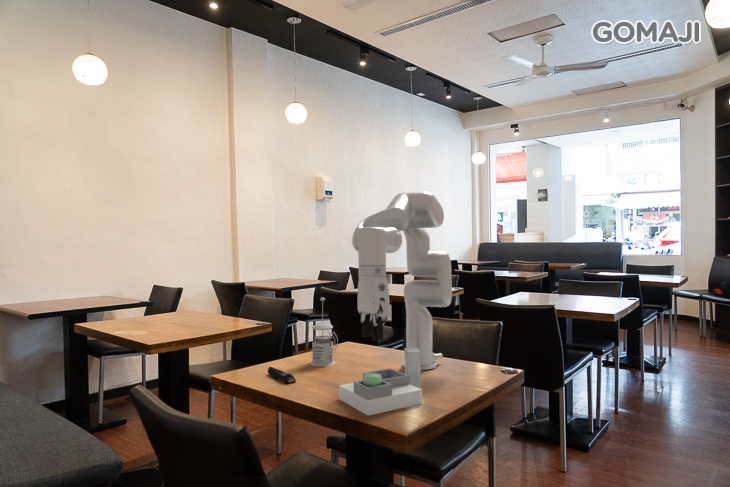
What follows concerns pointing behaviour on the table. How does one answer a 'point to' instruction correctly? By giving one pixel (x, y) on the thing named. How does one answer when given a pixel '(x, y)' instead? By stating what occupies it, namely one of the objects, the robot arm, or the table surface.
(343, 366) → the table surface
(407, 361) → the skincare box
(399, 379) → the white socket tray
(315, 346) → the french press
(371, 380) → the on button
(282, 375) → the electric trimmer
